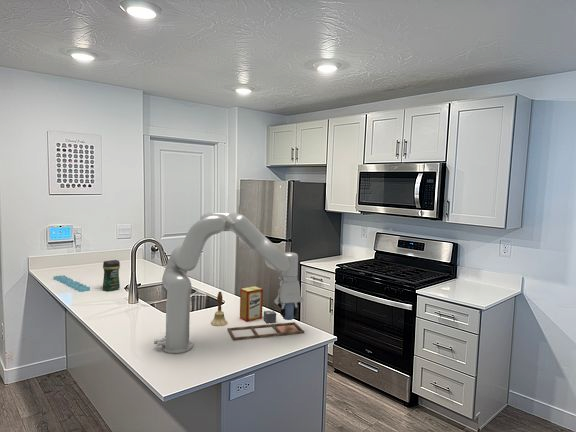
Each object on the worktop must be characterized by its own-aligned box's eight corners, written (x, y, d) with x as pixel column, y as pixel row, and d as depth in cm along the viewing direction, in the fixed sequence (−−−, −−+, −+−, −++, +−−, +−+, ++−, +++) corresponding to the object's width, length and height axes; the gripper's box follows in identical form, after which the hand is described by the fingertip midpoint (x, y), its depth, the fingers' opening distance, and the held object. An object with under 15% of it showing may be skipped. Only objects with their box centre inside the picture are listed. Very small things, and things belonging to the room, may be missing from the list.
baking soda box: (246, 322, 203) (247, 290, 201) (239, 318, 208) (240, 287, 206) (262, 318, 209) (262, 288, 207) (254, 315, 214) (255, 285, 212)
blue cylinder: (285, 320, 190) (285, 303, 190) (281, 317, 195) (282, 300, 194) (295, 319, 192) (295, 303, 191) (291, 316, 197) (291, 300, 196)
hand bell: (231, 323, 200) (231, 292, 198) (217, 327, 194) (218, 295, 192) (220, 319, 205) (221, 288, 204) (207, 323, 199) (207, 291, 198)
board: (233, 340, 178) (233, 338, 178) (227, 330, 190) (227, 328, 190) (304, 333, 190) (304, 331, 190) (294, 324, 202) (294, 322, 202)
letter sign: (53, 279, 274) (53, 276, 274) (63, 278, 279) (63, 274, 279) (80, 293, 245) (80, 289, 244) (91, 291, 250) (91, 287, 249)
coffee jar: (106, 292, 247) (106, 262, 245) (100, 289, 252) (100, 260, 251) (121, 289, 254) (122, 260, 253) (115, 287, 259) (115, 258, 258)
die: (266, 323, 201) (266, 313, 201) (263, 320, 206) (263, 310, 205) (275, 323, 203) (276, 313, 202) (272, 319, 208) (273, 310, 207)
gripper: (275, 281, 186) (273, 320, 187) (309, 279, 191) (307, 316, 193) (270, 277, 193) (269, 314, 194) (303, 275, 198) (301, 311, 200)
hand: (288, 315), depth 193 cm, fingers closed on blue cylinder, 5 cm apart
